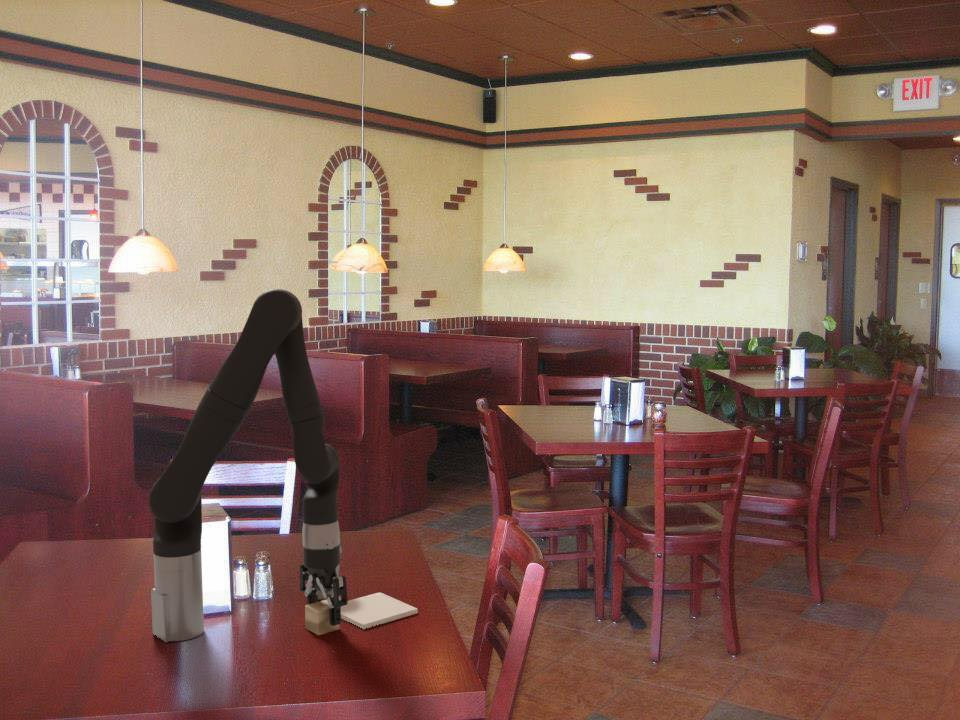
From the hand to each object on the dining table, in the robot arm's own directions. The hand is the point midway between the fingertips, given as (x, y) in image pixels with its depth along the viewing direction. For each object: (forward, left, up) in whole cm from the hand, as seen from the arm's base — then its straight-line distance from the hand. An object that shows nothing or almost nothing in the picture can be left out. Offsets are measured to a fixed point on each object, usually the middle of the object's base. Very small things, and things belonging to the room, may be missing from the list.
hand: (324, 619), depth 203 cm
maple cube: (0, 0, -2) cm, 2 cm away
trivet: (+13, +1, -2) cm, 13 cm away
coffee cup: (+11, +17, -2) cm, 20 cm away
